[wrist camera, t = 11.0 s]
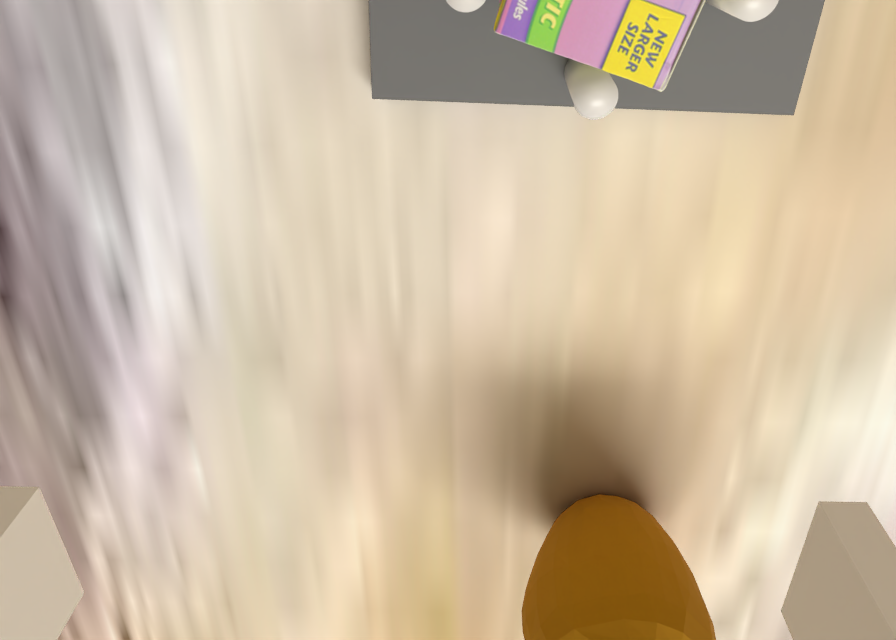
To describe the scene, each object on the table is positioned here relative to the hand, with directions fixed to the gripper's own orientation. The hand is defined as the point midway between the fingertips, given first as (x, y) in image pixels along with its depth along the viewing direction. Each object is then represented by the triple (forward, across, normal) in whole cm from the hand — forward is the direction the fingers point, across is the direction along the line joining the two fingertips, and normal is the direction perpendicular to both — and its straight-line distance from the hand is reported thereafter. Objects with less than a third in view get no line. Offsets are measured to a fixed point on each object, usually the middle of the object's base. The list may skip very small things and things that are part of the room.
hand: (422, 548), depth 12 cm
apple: (+27, +10, -28) cm, 40 cm away
